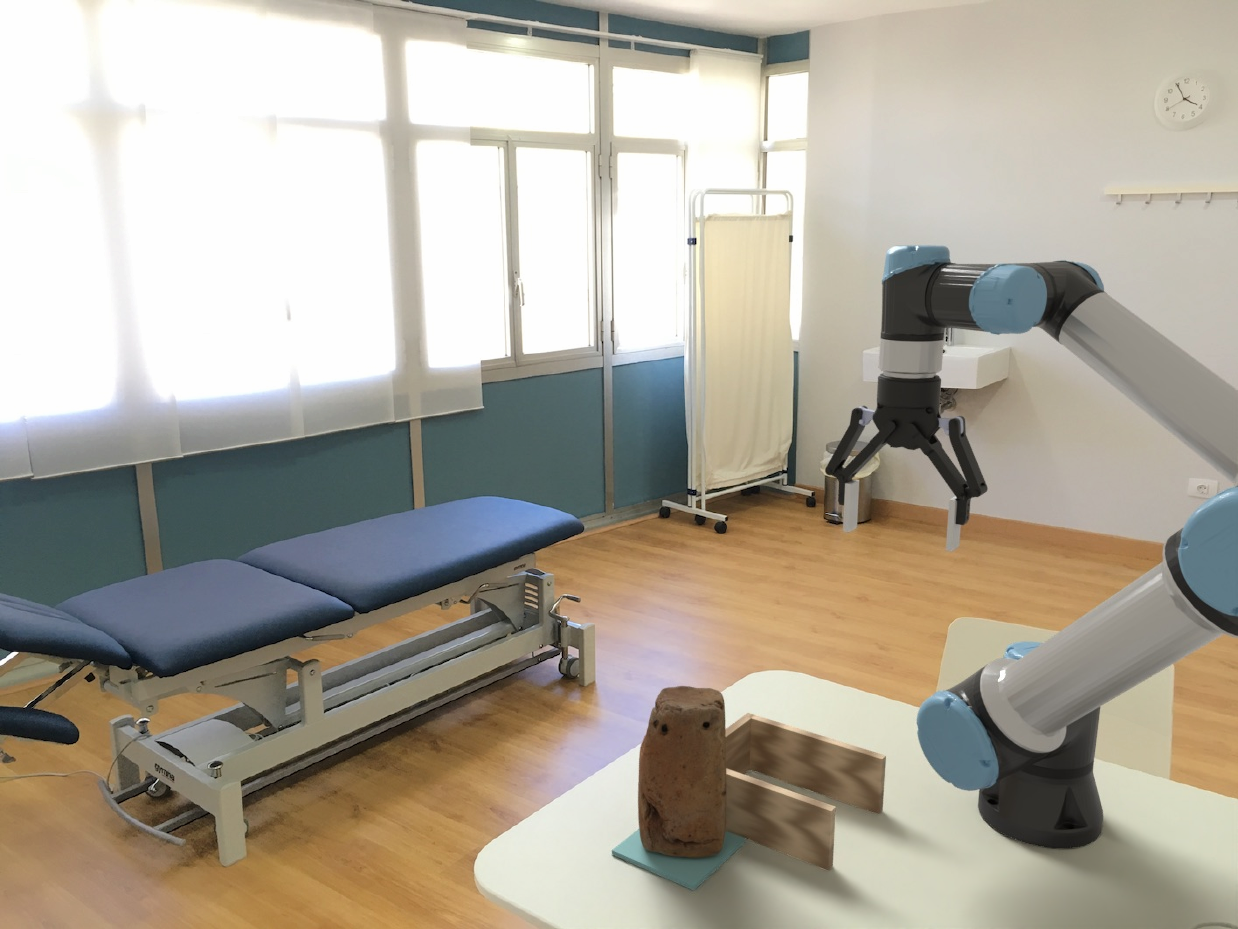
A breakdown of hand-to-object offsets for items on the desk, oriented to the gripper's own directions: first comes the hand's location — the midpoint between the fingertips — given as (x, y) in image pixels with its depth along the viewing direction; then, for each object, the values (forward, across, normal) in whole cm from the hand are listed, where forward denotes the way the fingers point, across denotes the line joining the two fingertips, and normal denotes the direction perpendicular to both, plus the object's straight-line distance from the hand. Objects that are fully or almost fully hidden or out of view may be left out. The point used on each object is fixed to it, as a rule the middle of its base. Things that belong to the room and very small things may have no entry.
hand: (899, 539), depth 132 cm
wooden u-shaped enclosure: (+37, +9, +11) cm, 39 cm away
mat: (+37, +16, +26) cm, 48 cm away
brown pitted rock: (+36, +16, +26) cm, 47 cm away
